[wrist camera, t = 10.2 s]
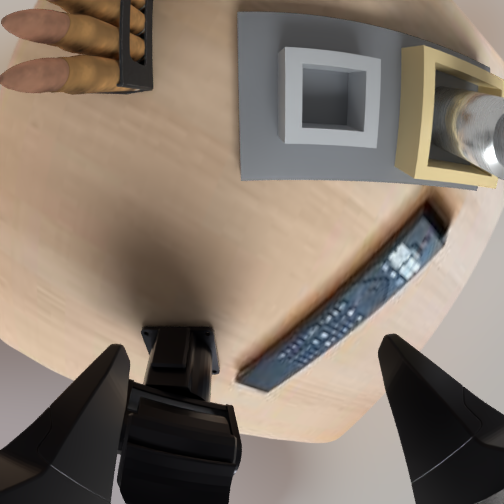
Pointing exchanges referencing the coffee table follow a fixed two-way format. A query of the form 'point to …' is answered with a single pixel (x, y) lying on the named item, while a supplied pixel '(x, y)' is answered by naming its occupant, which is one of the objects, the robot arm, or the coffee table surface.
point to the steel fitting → (470, 127)
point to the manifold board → (348, 102)
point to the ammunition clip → (85, 47)
